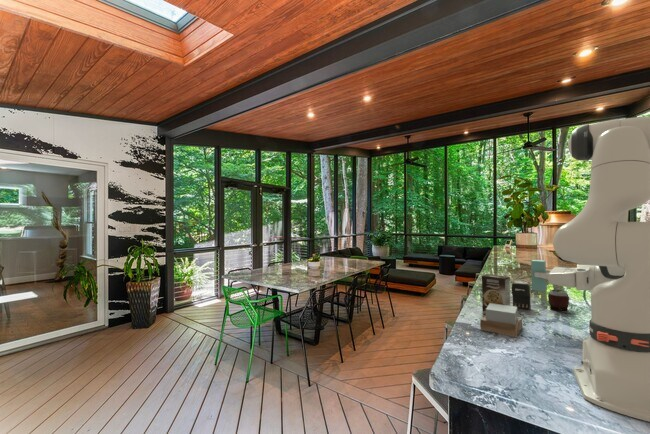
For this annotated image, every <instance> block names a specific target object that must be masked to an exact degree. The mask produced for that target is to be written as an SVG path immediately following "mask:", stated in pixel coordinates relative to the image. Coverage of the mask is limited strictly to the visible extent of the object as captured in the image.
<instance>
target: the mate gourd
mask: <svg viewBox="0 0 650 434" xmlns="http://www.w3.org/2000/svg"><path fill="white" fill-rule="evenodd" d="M551 285H552V287H553V289H550V291H549V292H548V296H547V297H548V304H549V309H550V308H551V310H557V309H558V310H559V311H558V310H557V311H558V312H562V311H567V310H568V311H569V309H568V307H569V305H570V297H569V294H568V293H567V291H565V290H562V289H556V285H553V284H551ZM561 309H562V310H561Z"/></svg>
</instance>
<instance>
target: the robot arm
mask: <svg viewBox="0 0 650 434" xmlns="http://www.w3.org/2000/svg"><path fill="white" fill-rule="evenodd" d="M567 141H568V142H567V149H568V151H569V153H570V155H571V157H572V158H573V159H575V160H577V161H582V162H589V161H590V160H591V163H590V164H591V165H590V181H589V183H590V185H589V192H588V197H587V200H586V202H585V204H584V206H583V207H582V209H581V210H580V211H579V212H578V214H577V215H576V216H575V217H574V218H573V219H571V220H569V221H568V222H567V223H564V224H563V225H561V226H560V227H558V229H557V230H556V231H555V233H554V235H553V237H552V247H553V249H554V252H555V253H556V255H557V256H558V257H559V258H560V259H562V260H563V261H567V262H571V263H575V264H576V267H563V266H562V267H561V266H554V267H553V268H552V269H546V273H541V272H535V277H540V278H544V279H546V280H547V283H548V284H550V285H552V284H553V285H554V286H560V287H565V288H573V289H574V288H575V289H576V290H577V291H588V292H590V313H591V319H589V322H588V323H589V325H588V330H589V337H588V338H586V339H584V340H582V360H580V362H581V365H582V366H573V370H572V372H573V374H574V377H575V379H576V381H577V384H578V387H579V389H580V392H581V394H582V397H583V399H585V400H586V401H589V402H590V403H592V404H594V405H597V406H599V407H602V408H603V409H606V410H609V411H612V412H615V413H618V414H621V415H624V416H628V417H631V418H635V419H638V420H641V421H645V422H649V423H650V221H629V211H630V210H633V209H636V208H639V207H641V206H643V205H645V204H646V203H648V202H649V200H650V116H637V117H636V116H634V117H627V118H617V119H616V118H615V119H610V120H605V121H601V122H597V123H593V124H588V123H587V124H584V125H580V126H578V127H576V128H575V129H574V130H572V132H571V135H570V136H569V139H568V140H567ZM553 285H552V286H553Z"/></svg>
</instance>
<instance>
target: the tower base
mask: <svg viewBox="0 0 650 434" xmlns="http://www.w3.org/2000/svg"><path fill="white" fill-rule="evenodd" d="M479 326H480V330H482V331H487V332H491V333H497V334H501V335H506V336H510V337H515V338H516V337H517V336H518V334H519V333H520V332H521V331H522V328H523V318H522V317H518V316H517V321H516V325H513V324H507V323H500V322H494V321H488V320H486V314H484V316H482V318H480V325H479Z"/></svg>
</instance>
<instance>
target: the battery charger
mask: <svg viewBox="0 0 650 434" xmlns="http://www.w3.org/2000/svg"><path fill="white" fill-rule="evenodd" d="M531 289H532V287H531V285H530V284H529V283H528V282H522V281H514V282H512V283H511V294H512V295H511V296H512V297H511V298H512V306H515V307H517V309H519V310H520V309H521V310H531V309H532V305H531V303H532V302H531V301H532V300H531V299H532V292H531V291H532V290H531Z"/></svg>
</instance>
